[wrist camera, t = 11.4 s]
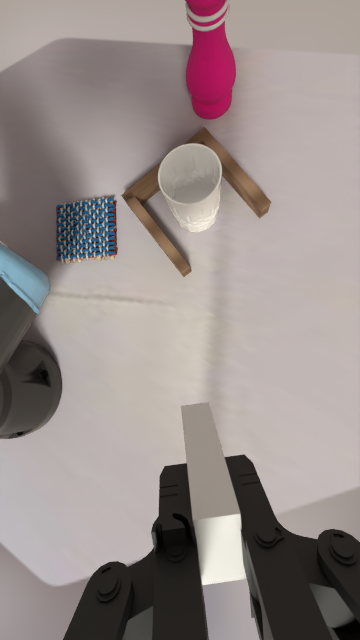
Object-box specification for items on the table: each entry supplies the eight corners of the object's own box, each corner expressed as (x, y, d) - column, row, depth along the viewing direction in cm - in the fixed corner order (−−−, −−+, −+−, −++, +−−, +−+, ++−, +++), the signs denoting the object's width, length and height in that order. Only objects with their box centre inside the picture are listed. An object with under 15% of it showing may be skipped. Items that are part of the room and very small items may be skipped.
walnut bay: (267, 211, 42) (271, 201, 39) (183, 277, 43) (180, 272, 40) (205, 141, 44) (204, 127, 41) (127, 204, 45) (121, 195, 42)
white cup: (170, 192, 44) (155, 149, 34) (219, 184, 43) (218, 137, 33) (174, 239, 44) (160, 209, 34) (224, 232, 42) (225, 199, 33)
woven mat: (59, 207, 48) (52, 201, 46) (118, 200, 46) (113, 193, 44) (59, 266, 47) (52, 262, 45) (119, 260, 45) (114, 256, 43)
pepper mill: (193, 80, 45) (170, -121, 26) (237, 80, 44) (249, -131, 24) (186, 122, 45) (158, -51, 25) (231, 123, 44) (238, -58, 24)
